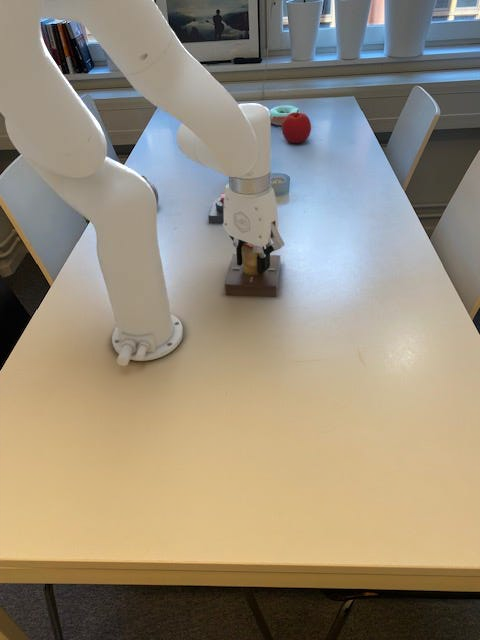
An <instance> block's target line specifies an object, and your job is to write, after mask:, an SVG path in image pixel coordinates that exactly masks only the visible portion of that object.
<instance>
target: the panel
mask: <svg viewBox="0 0 480 640" xmlns="http://www.w3.org/2000/svg"><path fill="white" fill-rule="evenodd" d="M280 270H281V255H280V254H270V267H269V269H267V270H266V271H265V272H264V273H262V274H258V275H248V274H246V273H244V272H243V267H242V265H240V266H239V265H237V254H236V253H232V257H231V260H230V263H229V268H228V272H227V275H226V279H225V283H224V291H225V295H227V296H250V297H253V296H254V297H275V298H276V297H277V295H278V287H279V281H280V280H279V279H280Z"/></svg>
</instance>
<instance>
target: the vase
mask: <svg viewBox="0 0 480 640" xmlns="http://www.w3.org/2000/svg"><path fill="white" fill-rule="evenodd" d="M141 176H142V177H143V178H144V179H145V180H146V181H147V182H148V184H149V185H150V186H151V188H152V190H153V192H154V194H155V197H156V202H157V207H158V206H159V202H160V201H159V199H160V197H159V193H158V190H157V188H156V186H155V185H154V184H153V183H152V182H151V181H150V180H148V178H147V176H146V175H141Z"/></svg>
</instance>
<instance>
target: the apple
mask: <svg viewBox="0 0 480 640" xmlns="http://www.w3.org/2000/svg"><path fill="white" fill-rule="evenodd" d="M299 110H300V109H299ZM299 110H297V113H290V114H289V115H287V116H286V117H285V119H284V120H283V123H282V126H281V134H282V135H283V138H284V139H285V140H286V141H287V142H288V143H292V144H301V143H304V142H305V141H307V139H308V138H309V137H310V135H311V131H312V123H311V120H310V118H309V117H308V115H307V114H305V113H303V112H301V113H298V111H299Z"/></svg>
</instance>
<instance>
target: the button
mask: <svg viewBox="0 0 480 640" xmlns="http://www.w3.org/2000/svg"><path fill="white" fill-rule="evenodd" d="M224 195H225V192H223V193H222V194H221V195H220V196H221V198H222V203H223V204H224Z"/></svg>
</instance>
